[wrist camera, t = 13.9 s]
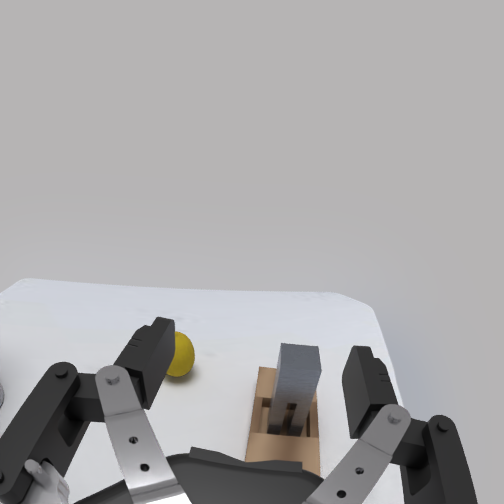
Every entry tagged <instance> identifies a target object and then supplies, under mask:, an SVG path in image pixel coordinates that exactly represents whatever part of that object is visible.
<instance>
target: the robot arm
mask: <svg viewBox="0 0 504 504" xmlns="http://www.w3.org/2000/svg"><path fill="white" fill-rule="evenodd" d="M174 354H175V323H174V320H172V319H167V318H162V317H157V318H156V319H155V321H154V322H153V324H152V325H151V326H147V325H144V326H143V327H141V328H140V329H138V330H137V331H136V332H135V333H134V335H133V336H132V338H131V339H130V341H129V342H128V344H127V345H126V346H125V348H124V349H123V351H122V352H121V354H120V355H119V357H118V358H117V360H116V361H115V363H114V364H113V365H110V366H106V367H103V368H101V369H100V370H99V371H98V372H97V374H87V373H78V372H77V369H76V367H75V366H74V365H73V364H71V363H68V362H59V363H56V364H54V365H52V366H51V367H50V368H49V369H48V370H47V371H46V373H45V374H44V376H43V377H42V378H41V380H40V381H39V382H38V384H37V385H36V387H35V388H34V389H33V391H32V392H31V394H30V395H29V396H28V398H27V399H26V401H25V402H24V404H23V405H22V406H21V408H20V409H19V411H18V412H17V414H16V415H15V417H14V418H13V420H12V421H11V423H10V424H9V426H8V427H7V429H6V431H5V432H4V434H3V435H2V437H1V438H0V502H1V503H3V504H68V497H69V486H68V484H67V482H66V481H65V480H64V479H63V478H64V476H65V474H66V472H67V470H68V467H69V465H70V463H71V461H72V459H73V457H74V455H75V453H76V450H77V448H78V446H79V444H80V442H81V440H82V438H83V436H84V434H85V432H86V430H87V428H88V426H89V424H90V422H105V423H106V426H107V430H108V433H109V436H110V440H111V443H112V446H113V449H114V452H115V455H116V458H117V461H118V463H119V466H120V469H121V472H122V474H123V477H124V479H123V480H121V481H119V482H118V483H116V484H114V485H112V486H110V487H107V488H105V489H103V490H101V491H99V492H97V493H95V494H93V495H91V496H88V497H86V498H84V499H82V500H79V501H77V502H75V503H74V504H362V503H363V501H364V500H365V498H366V497H367V496H368V494H369V493H370V491H371V490H372V489H373V487H374V486H375V484H376V483H377V481H378V480H379V478H380V477H381V475H382V474H383V472H384V471H385V469H386V467H387V466H388V464H389V463H392V464H397V465H400V471H401V478H402V486H403V494H404V503H405V504H478V503H477V498H476V494H475V490H474V486H473V482H472V479H471V475H470V471H469V467H468V464H467V461H466V457H465V454H464V451H463V447H462V444H461V441H460V438H459V435H458V432H457V429H456V426H455V424H454V422H453V421H452V420H451V419H450V418H448V417H446V416H443V415H436V416H433V417H432V418H431V419H430V420H429V421H428V422H425V421H420V420H415V419H412V418H411V417H410V414H409V412H408V411H407V410H406V409H405V408H403V407H402V406H399V405H398V402H397V399H396V396H395V393H394V389H393V386H392V383H391V382H390V381H391V380H390V377H389V376H388V371H387V368H386V366H385V365H384V363H383V362H382V361H381V360H380V359H379V358H374V357H373V354H372V351H371V348H370V347H368V346H353V347H352V349H351V352H350V354H349V357H348V360H347V362H346V365H345V368H344V370H343V375H342V386H343V392H344V398H345V405H346V411H347V418H348V425H349V432H350V439H358V440H357V442H356V443H355V444H354V445H353V447H352V448H351V449H350V450H349V452H348V453H347V454H346V455H345V457H344V458H343V459H342V460H341V462H340V463H339V464H338V465H337V466H336V467H335V469H334V470H333V471H332V472H331V473H330V474H329V476H328V477H327V478H326V479H325V480H324V479H323V478H321V477H320V476H318V475H316V474H314V473H313V472H310V471H307V470H304V469H302V462H299V461H284V460H268V461H258V462H244V461H241V460H238V459H235V458H233V457H230V456H227V455H225V454H222V453H220V452H216V451H211V450H206V449H201V448H196V447H191V450H190V453H184V454H176V455H171V456H168V457H165V456H164V454H163V452H162V449H161V447H160V445H159V443H158V441H157V439H156V437H155V434H154V432H153V430H152V427H151V425H150V423H149V421H148V418H147V416H146V413H145V411H144V409H147V410H149V409H150V407H151V405H152V403H153V401H154V399H155V396H156V394H157V392H158V390H159V388H160V386H161V384H162V381H163V379H164V377H165V375H166V373H167V371H168V369H169V367H170V364H171V362H172V360H173V358H174ZM3 398H4V391H3V388H2V386H1V384H0V406H1V404H2V402H3ZM143 408H144V409H143Z"/></svg>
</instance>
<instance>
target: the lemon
mask: <svg viewBox="0 0 504 504" xmlns="http://www.w3.org/2000/svg"><path fill="white" fill-rule="evenodd" d="M194 359H195V353H194V348H193V345H192V343H191V341H190V339H189V338H188V337H187V336H186V335H184V334H183V333H180V332H175V354H174V358H173V360H172V362H171V364H170V367H169V369H168V371H167V373H166V374H168V375H170V376H175V377H179V376H183V375H185V374H187V373H188V372H189V371H190V370H191V368H192V366H193V364H194Z"/></svg>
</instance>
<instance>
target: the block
mask: <svg viewBox="0 0 504 504" xmlns="http://www.w3.org/2000/svg"><path fill="white" fill-rule="evenodd" d="M320 375H321V363H320V355H319V348H318V346H307V345H295V344H285V343H281V346H280V352H279V358H278V363H277V369H276V374H275V380H274V385H273V390H272V395H271V401H270V406H269V411H268V418H267V431H266V434H272V435H279V434H280V431H281V427H282V423H283V420H284V416H285V412H286V408H287V404H288V403H290V407H289V410H288V414H287V436H295V437H300V436H301V433H302V430H303V427H304V424H305V421H306V418H307V415H308V412H309V409H310V406H311V403H312V400H313V397H314V394H315V391H316V388H317V384H318V381H319V378H320Z"/></svg>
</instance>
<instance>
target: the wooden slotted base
mask: <svg viewBox="0 0 504 504" xmlns="http://www.w3.org/2000/svg"><path fill="white" fill-rule="evenodd" d="M275 374H276V369H275V368H267V367H259V372H258V379H257V386H256V393H255V399H254V406H253V413H252V419H251V426H250V432H249V439H248V445H247V451H246V457H245V462H258V461H268V460H284V461H299V462H302V469H304V470H307V471H310V472H313V473H314V474H316V475H318V476H320V453H319V431H318V412H317V396H316V391H315V394H314V397H313V400H312V403H311V406H310V409H309V412H308V415H307V418H306V421H305V424H304V427H303V430H302V433H301V436H300V437H295V436H287V414H288V410H289V407H290V403H288V404H287V408H286V412H285V416H284V420H283V423H282V427H281V431H280V434H279V435H272V434H266V431H267V418H268V411H269V406H270V401H271V395H272V390H273V385H274V380H275Z"/></svg>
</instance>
